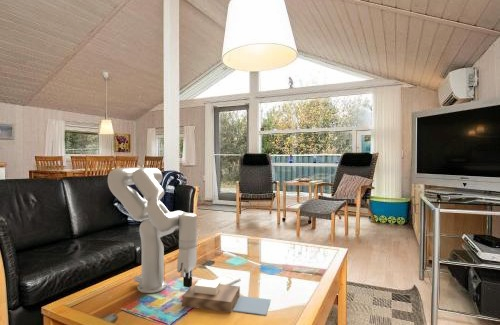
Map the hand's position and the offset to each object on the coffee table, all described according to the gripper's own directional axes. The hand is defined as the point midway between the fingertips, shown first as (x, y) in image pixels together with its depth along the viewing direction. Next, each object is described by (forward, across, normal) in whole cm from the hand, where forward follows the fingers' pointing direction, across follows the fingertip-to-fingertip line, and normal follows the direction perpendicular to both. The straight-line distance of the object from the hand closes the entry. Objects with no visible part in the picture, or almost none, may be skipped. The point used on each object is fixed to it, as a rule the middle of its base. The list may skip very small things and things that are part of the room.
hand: (187, 286), depth 125 cm
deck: (+5, 0, +11) cm, 12 cm away
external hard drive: (+6, -19, +11) cm, 22 cm away
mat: (+5, 0, +28) cm, 28 cm away
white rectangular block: (-1, 0, +9) cm, 9 cm away
